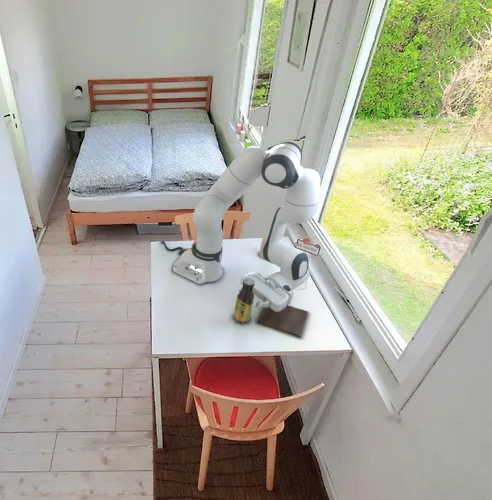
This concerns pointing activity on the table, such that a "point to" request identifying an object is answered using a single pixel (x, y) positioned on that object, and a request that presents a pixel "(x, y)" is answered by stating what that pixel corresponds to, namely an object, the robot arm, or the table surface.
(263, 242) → the candle
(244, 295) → the sauce bottle
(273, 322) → the serving board
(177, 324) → the table surface
